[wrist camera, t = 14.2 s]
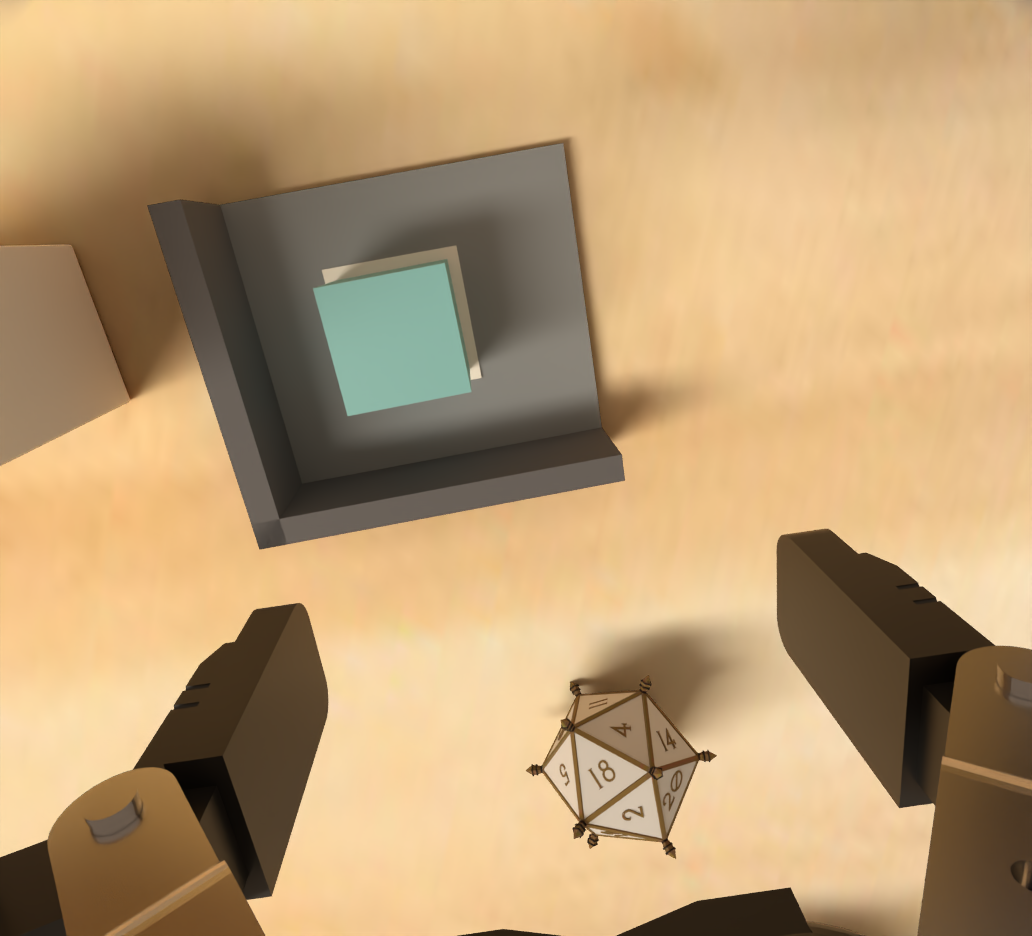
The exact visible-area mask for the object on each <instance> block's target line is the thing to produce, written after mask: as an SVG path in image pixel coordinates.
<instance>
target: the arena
mask: <svg viewBox="0 0 1032 936" xmlns="http://www.w3.org/2000/svg"><path fill="white" fill-rule="evenodd" d="M147 206H148V209H149V212H150V215H151V218H152V221H153V224H154V228H155V231H156V234H157V237H158V240H159V243H160V246H161V249H162V252H163V255H164V258H165V261H166V264H167V267H168V270H169V273H170V277H171V280H172V283H173V286H174V289H175V292H176V295H177V298H178V301H179V304H180V307H181V310H182V313H183V316H184V319H185V322H186V325H187V329H188V332H189V335H190V338H191V341H192V344H193V347H194V350H195V353H196V356H197V359H198V362H199V365H200V368H201V371H202V374H203V378H204V381H205V384H206V387H207V390H208V393H209V396H210V399H211V402H212V405H213V408H214V411H215V414H216V417H217V420H218V423H219V427H220V430H221V433H222V436H223V439H224V442H225V445H226V448H227V451H228V454H229V457H230V460H231V463H232V466H233V469H234V472H235V476H236V479H237V482H238V485H239V488H240V491H241V494H242V497H243V500H244V503H245V506H246V509H247V512H248V515H249V518H250V521H251V524H252V528H253V531H254V534H255V537H256V540H257V543H258V546H259V549H265V548H270V547H276V546H281V545H286V544H291V543H297V542H302V541H307V540H313V539H318V538H323V537H328V536H334V535H339V534H344V533H350V532H355V531H360V530H366V529H371V528H376V527H381V526H387V525H392V524H397V523H403V522H408V521H413V520H418V519H424V518H429V517H434V516H440V515H445V514H450V513H456V512H461V511H466V510H471V509H477V508H482V507H487V506H493V505H498V504H503V503H508V502H514V501H519V500H524V499H530V498H535V497H540V496H546V495H551V494H556V493H561V492H567V491H572V490H577V489H583V488H588V487H593V486H598V485H604V484H609V483H614V482H620V481H625V476H624V469H623V461H622V454H621V453H620V452H619V450H618V449H617V447H616V446H615V445H614V443H613V442H612V441H611V439H610V438H609V437H608V435H607V434H606V433H605V431H604V430H603V429H602V425H601V418H600V411H599V403H598V396H597V389H596V381H595V374H594V366H593V359H592V352H591V344H590V337H589V330H588V322H587V315H586V307H585V300H584V293H583V285H582V278H581V271H580V263H579V256H578V248H577V241H576V234H575V226H574V219H573V212H572V204H571V197H570V189H569V182H568V175H567V167H566V160H565V153H564V145H563V143H561V144H555V145H550V146H544V147H538V148H533V149H527V150H522V151H516V152H511V153H505V154H500V155H494V156H489V157H483V158H477V159H472V160H466V161H461V162H455V163H450V164H444V165H439V166H433V167H428V168H422V169H416V170H411V171H405V172H400V173H394V174H389V175H383V176H378V177H372V178H367V179H361V180H355V181H350V182H344V183H339V184H333V185H328V186H322V187H317V188H311V189H306V190H300V191H294V192H289V193H283V194H278V195H272V196H267V197H261V198H256V199H250V200H245V201H239V202H233V203H228V204H222V205H217V204H210V203H202V202H194V201H187V200H175V201H170V202H164V203H158V204H153V205H147ZM444 259H447V260H448V265H449V270H450V275H451V279H452V284H453V289H454V294H455V299H456V304H457V309H458V313H459V318H460V323H461V328H462V333H463V338H464V343H465V347H466V352H467V357H468V362H469V367H470V377H471V391H472V392H469V393H464V394H459V395H454V396H449V397H444V398H438V399H433V400H428V401H423V402H418V403H413V404H408V405H403V406H398V407H393V408H387V409H382V410H377V411H372V412H367V413H362V414H357V415H352V416H347V412H346V408H345V405H344V401H343V397H342V394H341V390H340V386H339V383H338V379H337V375H336V372H335V368H334V364H333V360H332V357H331V353H330V349H329V346H328V342H327V338H326V335H325V331H324V327H323V324H322V320H321V316H320V313H319V309H318V305H317V302H316V298H315V294H314V291H313V288H316V287H318V286H321V285H324V284H327V283H330V282H333V281H336V280H341V279H346V278H351V277H356V276H361V275H366V274H372V273H377V272H382V271H387V270H392V269H397V268H403V267H408V266H413V265H418V264H423V263H428V262H434V261H439V260H444Z"/></svg>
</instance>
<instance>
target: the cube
mask: <svg viewBox="0 0 1032 936" xmlns="http://www.w3.org/2000/svg"><path fill="white" fill-rule="evenodd" d="M313 291H314V294H315V298H316V302H317V305H318V309H319V313H320V316H321V320H322V324H323V327H324V331H325V335H326V338H327V342H328V346H329V349H330V353H331V357H332V360H333V364H334V368H335V372H336V375H337V379H338V383H339V386H340V390H341V394H342V397H343V401H344V405H345V408H346V412H347V416H352V415H357V414H362V413H367V412H372V411H377V410H382V409H387V408H393V407H398V406H403V405H408V404H413V403H418V402H423V401H428V400H433V399H438V398H444V397H449V396H454V395H459V394H464V393H469V392H472V391H471V377H470V367H469V362H468V357H467V352H466V347H465V343H464V338H463V333H462V328H461V323H460V318H459V313H458V309H457V304H456V299H455V294H454V289H453V284H452V279H451V275H450V270H449V265H448V260H447V259H444V260H439V261H434V262H428V263H423V264H418V265H413V266H408V267H403V268H397V269H392V270H387V271H382V272H377V273H372V274H366V275H361V276H356V277H351V278H346V279H341V280H336V281H333V282H330V283H327V284H324V285H321V286H318V287H316V288H313Z"/></svg>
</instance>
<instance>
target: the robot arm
mask: <svg viewBox="0 0 1032 936" xmlns="http://www.w3.org/2000/svg"><path fill="white" fill-rule="evenodd" d="M777 621H778V627H779V632H780V636H781V639H782V642H783V645H784V647H785V649H786V651H787V653H788V654H789V656H790V657H791V659H792V660H793V661H794V663H795V664H796V666H797V667H798V668H799V670H800V671H801V673H802V674H803V675H804V677H805V678H806V679H807V681H808V682H809V684H810V685H811V686H812V688H813V689H814V691H815V692H816V693H817V695H818V696H819V697H820V699H821V700H822V702H823V703H824V704H825V706H826V707H827V709H828V710H829V711H830V713H831V714H832V716H833V717H834V718H835V720H836V721H837V722H838V724H839V725H840V727H841V728H842V729H843V731H844V732H845V734H846V735H847V736H848V738H849V739H850V740H851V742H852V743H853V745H854V746H855V747H856V749H857V750H858V752H859V753H860V754H861V756H862V757H863V758H864V760H865V761H866V763H867V764H868V765H869V767H870V768H871V770H872V771H873V772H874V774H875V775H876V777H877V778H878V779H879V781H880V782H881V783H882V785H883V786H884V788H885V789H886V790H887V792H888V793H889V795H890V796H891V797H892V799H893V800H894V801H895V803H896V804H897V806H898V807H899V808H903V807H910V806H917V805H924V804H931V803H934V805H935V813H934V820H933V827H932V834H931V841H930V849H929V856H928V863H927V870H926V877H925V885H924V892H923V899H922V906H921V913H920V920H919V928H918V935H917V936H1032V650H1030V649H1026V648H1020V647H1013V646H995V645H994V644H993V643H991V642H990V641H989V640H988V639H986V638H985V637H984V636H983V635H982V634H980V633H979V632H978V631H977V630H975V629H974V628H973V627H972V626H971V625H969V624H968V623H967V622H966V621H964V620H963V619H962V618H961V617H959V616H958V615H957V614H956V613H955V612H953V611H952V610H951V609H950V608H948V607H947V606H946V605H945V604H943V603H942V602H941V601H938V602H937V600H936V597H935V596H934V595H932V594H931V593H930V592H929V591H928V590H926V589H925V588H924V587H923V586H922V587H919V585H918V582H916V581H915V580H914V579H913V578H912V577H910V576H909V575H908V574H907V573H905V572H904V571H903V570H902V569H900V568H899V567H898V566H897V565H894V564H892V563H889V562H887V561H885V560H882V559H880V558H878V557H875V556H873V555H871V554H868V553H861V554H858V553H856V552H855V551H854V550H853V549H852V548H851V547H850V546H848V545H847V544H846V543H845V542H844V541H843V540H841V539H840V538H839V537H838V536H837V535H836V534H835V533H833V532H832V531H831V530H829V529H821V530H814V531H807V532H800V533H793V534H786V535H782V536H781V537H780V538H779V540H778V543H777ZM327 713H328V689H327V682H326V678H325V674H324V671H323V667H322V663H321V660H320V656H319V652H318V649H317V645H316V641H315V637H314V634H313V630H312V626H311V623H310V619H309V616H308V613H307V610H306V608H305V607H304V606H303V604H301V603H296V604H289V605H282V606H275V607H269V608H262V609H256V610H254V611H253V612H252V614H251V615H250V617H249V619H248V620H247V622H246V624H245V626H244V627H243V629H242V631H241V632H240V634H239V636H238V637H237V639H236V641H235V642H232V643H225V644H223V645H222V646H221V647H220V648H219V649H218V650H216V651H215V652H214V653H213V654H212V655H210V656H209V657H208V658H207V659H206V660H205V661H203V662H202V663H201V664H200V665H199V667H198V668H197V670H196V671H195V673H194V674H193V676H192V678H191V679H190V681H189V682H188V684H187V685H186V691H183V692H182V693H181V695H180V696H179V698H178V700H177V701H176V703H175V704H174V710H171V711H170V712H169V714H168V715H167V717H166V718H165V720H164V722H163V723H162V725H161V726H160V728H159V729H158V731H157V733H156V734H155V736H154V737H153V739H152V740H151V742H150V744H149V745H148V747H147V748H146V750H145V751H144V753H143V755H142V756H141V758H140V759H139V761H138V762H137V764H136V766H135V767H134V769H133V770H131V771H127V772H124V773H121V774H118V775H116V776H113V777H111V778H109V779H107V780H105V781H103V782H101V783H99V784H98V785H96V786H94V787H93V788H91V789H90V790H88V791H87V792H85V793H84V794H82V795H81V796H80V797H79V798H77V799H76V800H75V801H74V802H73V803H72V804H71V805H70V806H68V807H67V808H66V809H65V811H64V812H63V813H62V814H61V815H60V816H59V818H58V819H57V821H56V822H55V823H54V825H53V827H52V829H51V831H50V833H49V837H48V840H46V841H43V842H40V843H38V844H35V845H32V846H30V847H27V848H24V849H22V850H19V851H16V852H14V853H11V854H8V855H6V856H3V857H0V936H265V934H264V932H263V930H262V928H261V926H260V925H259V923H258V921H257V919H256V917H255V915H254V913H253V911H252V910H251V908H250V906H249V904H248V902H247V900H249V899H256V898H263V897H270V896H272V893H273V890H274V887H275V884H276V880H277V877H278V874H279V871H280V868H281V864H282V861H283V858H284V855H285V851H286V848H287V845H288V842H289V838H290V835H291V832H292V829H293V826H294V822H295V819H296V816H297V813H298V809H299V806H300V803H301V800H302V796H303V793H304V790H305V787H306V784H307V780H308V777H309V774H310V771H311V767H312V764H313V761H314V758H315V754H316V751H317V748H318V745H319V742H320V738H321V735H322V732H323V729H324V725H325V722H326V719H327ZM459 936H559V935H550V934H541V933H533V932H524V931H515V930H507V929H501V930H494V931H487V932H480V933H473V934H466V935H459ZM617 936H865V935H862V934H859V933H856V932H853V931H850V930H847V929H844V928H839V927H835V926H831V925H826V924H822V923H815V922H808V921H806V920H805V918H804V915H803V913H802V911H801V909H800V907H799V905H798V903H797V901H796V898H795V896H794V894H793V892H792V890H791V888H784V889H777V890H770V891H763V892H756V893H749V894H742V895H735V896H728V897H722V898H715V899H708V900H701V901H696V902H694V903H691V904H689V905H687V906H684V907H682V908H680V909H677V910H675V911H673V912H670V913H668V914H666V915H663V916H661V917H659V918H656V919H654V920H652V921H649V922H647V923H645V924H643V925H640V926H638V927H636V928H633V929H631V930H629V931H626V932H624V933H622V934H619V935H617Z"/></svg>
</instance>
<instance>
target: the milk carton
mask: <svg viewBox="0 0 1032 936" xmlns="http://www.w3.org/2000/svg"><path fill="white" fill-rule="evenodd" d="M129 401H130V398H129V395H128V393H127V390H126V387H125V385H124V382H123V379H122V377H121V374H120V371H119V369H118V366H117V364H116V361H115V358H114V356H113V353H112V350H111V348H110V345H109V342H108V340H107V337H106V334H105V332H104V329H103V326H102V324H101V321H100V319H99V316H98V313H97V311H96V308H95V305H94V303H93V300H92V297H91V295H90V292H89V289H88V287H87V284H86V281H85V279H84V276H83V274H82V271H81V268H80V266H79V263H78V260H77V258H76V255H75V252H74V250H73V247H72V246H71V245H15V246H0V466H1V465H3V464H5V463H7V462H9V461H11V460H13V459H16V458H18V457H20V456H22V455H24V454H26V453H28V452H30V451H32V450H34V449H36V448H38V447H40V446H42V445H44V444H46V443H48V442H50V441H52V440H54V439H56V438H58V437H60V436H62V435H64V434H66V433H68V432H70V431H72V430H74V429H76V428H78V427H80V426H82V425H84V424H86V423H88V422H90V421H92V420H94V419H96V418H98V417H100V416H102V415H104V414H106V413H108V412H110V411H112V410H114V409H116V408H118V407H120V406H122V405H124V404H126V403H128V402H129Z"/></svg>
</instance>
